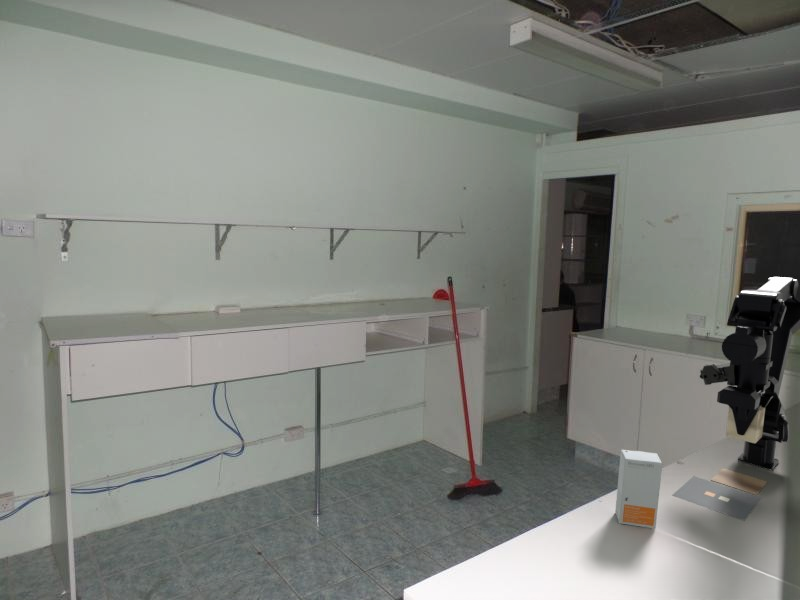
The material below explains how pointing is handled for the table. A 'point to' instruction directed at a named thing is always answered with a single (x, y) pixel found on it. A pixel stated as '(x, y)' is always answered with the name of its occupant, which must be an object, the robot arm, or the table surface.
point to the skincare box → (638, 488)
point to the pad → (739, 481)
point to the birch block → (753, 431)
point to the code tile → (718, 497)
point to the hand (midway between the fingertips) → (744, 431)
